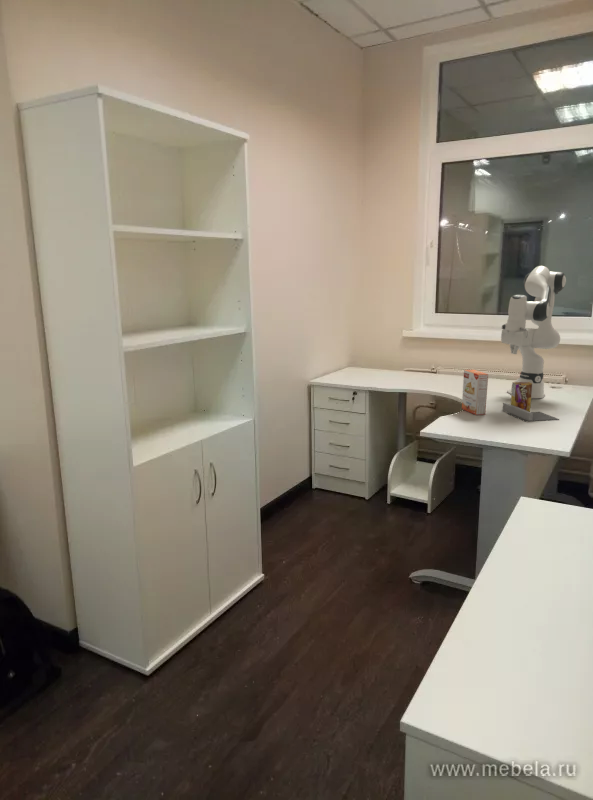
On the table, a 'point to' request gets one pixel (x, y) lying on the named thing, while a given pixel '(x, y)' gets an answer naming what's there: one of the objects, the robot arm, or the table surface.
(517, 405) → the candy box
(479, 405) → the cracker box
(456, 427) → the table surface
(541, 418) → the mat with rail
